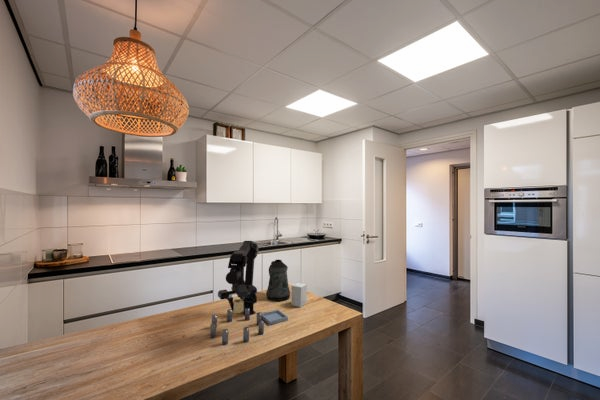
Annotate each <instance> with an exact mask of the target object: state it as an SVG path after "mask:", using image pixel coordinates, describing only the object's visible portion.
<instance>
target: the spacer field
mask: <svg viewBox="0 0 600 400" xmlns="http://www.w3.org/2000/svg"><path fill="white" fill-rule="evenodd" d="M250 317H251V314H250V308H245V315H244V321H250ZM226 318H227V319H226V322H227V323H231V322H232V321H233V312H232V309H231V308H229V309H227V311H226ZM264 325H265V321H264V320H263V319H262V312H260V311H259V312H256V326H258V329H257V331H258V333H257V334H258V335H264V333H265V331H264V330H265V329H264V328H265V326H264ZM209 327H210V328H209V338H210V339H214V338H216V337H217V328H218V315H217V314H212V315H211V323H210V325H209ZM242 333H243V335H242V337H243V338H242V342H243V343H249V341H250V327H248V326H245V327H243V332H242ZM221 334H222V335H221V345H222V346H227V345H228V344H229V329H227V328H224V329H222V333H221Z"/></svg>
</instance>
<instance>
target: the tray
mask: <svg viewBox="0 0 600 400" xmlns="http://www.w3.org/2000/svg"><path fill="white" fill-rule="evenodd" d="M261 313H262V312H261ZM262 320H263V321H264V323H266V324H268V326H273V325H276V324H279V323H284V322H287V321H289V316H287V315H286V314H285V313H284V312H282V311H281V310H279V309H276V310H271V311H267V312H263V313H262Z"/></svg>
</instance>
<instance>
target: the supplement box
mask: <svg viewBox="0 0 600 400" xmlns="http://www.w3.org/2000/svg"><path fill="white" fill-rule="evenodd" d="M307 285H308V284H306V283H301V282H296V283H293V284H292V285H291V292H290V296H291V297H290V299H291V302H290V303H291V306H294V307H299V308H302V307H304V306H306V305H307V304H308V303H307V301H308V299H307V296H308V295H307V294H308V292H307V289H308V288H307V287H308V286H307Z"/></svg>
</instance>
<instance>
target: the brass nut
mask: <svg viewBox="0 0 600 400" xmlns="http://www.w3.org/2000/svg"><path fill="white" fill-rule="evenodd" d="M242 311H244V301H243V300H242V299H240V298H235V299H233V310H232V314H241V313H242Z"/></svg>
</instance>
